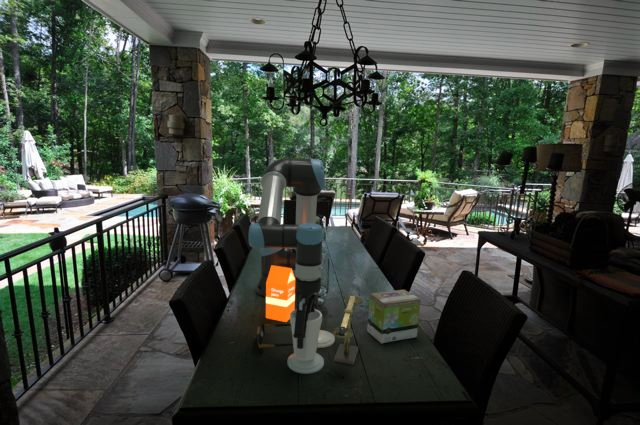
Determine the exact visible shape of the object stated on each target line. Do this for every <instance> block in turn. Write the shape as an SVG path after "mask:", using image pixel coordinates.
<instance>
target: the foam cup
mask: <svg viewBox="0 0 640 425" xmlns="http://www.w3.org/2000/svg"><path fill="white" fill-rule="evenodd" d="M306 310H307V309H306ZM296 311H297V310H296V309H294V310H293V311H292V312H291V314H290V319H289V321H290V323H289V324H291V326H290V328H291V336H292V344H293V345H292V346H293V353H294V355H295V357H296V338H294V336H293V334H294V330H295V320H296ZM322 323H323V314H322V311H320V310H319V309H318V310H316V309H315V311H314V312H311V313H309V315H308V321H307V327H306V334H305V336H306V358H305V359H303V358H298V357H296V358H297V359H298V360H302V361H308V360H312V359H313V358H315V354H316V353H317V350H318V348H317V344H318V338H319V332H320V330H321V327H322V326H321V325H322Z"/></svg>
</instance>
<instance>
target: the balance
mask: <svg viewBox="0 0 640 425" xmlns="http://www.w3.org/2000/svg"><path fill="white" fill-rule="evenodd" d="M343 302H344V303H345V304H347V306H346V308H344V311H343V319H342V322H341V325H340V326H338V327H335V328H333V330H332V334H333V335H334V337H335V338H338V339H340V340H341V339H343V340H344V343H339V345H338V348H337V350H336V353H335V355H334V358H333V362H334V363H341V364H344V365H345V364H346V365H354V364H355V360H356V358H357V355H358V351H359V346H356V345H350V343H351V339H350V338H352V337H353V336H354V334H355V333H354V330H353V329H351V320H352V317H353V314H354V305H361V304H362V303H363V298H361V297H359V296H355V295H348V296H345V297H344V298H343Z"/></svg>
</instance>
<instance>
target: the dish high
mask: <svg viewBox="0 0 640 425" xmlns="http://www.w3.org/2000/svg"><path fill="white" fill-rule="evenodd" d="M335 340H336V337H335V336H334V335H333V332H330V331H327V330H323V329H320V332H319V338H318V344H317V349H325V348H328V347H331V346H333V344H334V343H335Z"/></svg>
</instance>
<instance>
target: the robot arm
mask: <svg viewBox="0 0 640 425" xmlns="http://www.w3.org/2000/svg"><path fill="white" fill-rule="evenodd" d="M260 180H261V181H260V184H261V187H262V191H261V196H260V203H259V210H258V216H257V223H251V224H250V225H249V228H248V246H250V247H251V248H254V249H255V248H256V249H261V252H260V256H261V257H260V258H261V260H260V261H261V263H260V278H259V280H258V284H257V287H256V292H257V295H260V296H263V297H265V298H266V282H267V278H268V275H269V272H270V268H271V265H273V266H280V267H287V268H292V271H294V272H295V274H294V276H295V292H298V293H299V294H300V296H299V299H298V300H299V301H297V302H296V303H295V305H296V306H295V307H296V309H295V310H297V311H296V320H295V330H294V334H293V336H294V338H296V357H298V358H303V359H305V358H306V336H305V334H306V327H307V321H308V315H309V313H311V312H314V311H315V309H316V310H318V311H319V303H318V302H319V301H318V298H319V297H318V292H320V291H321V289H322V278H321V276H322V271H323V270H324V267H323V266H322V262H323V260H322V258H323V240H324V233H323V231H324V230H323V227H322V225H321V224H319V223H317V222H316V220H317V205H318V204H317V203H318V196H319V195H320V194H321V192H322V190H323V189H325V188H326V181H325V168H324V163H323V161H322V160H321V159H316V158H296V157H294V158H293V157H292V158H290V157H282V158H280V159H276V160H274V161H273V162H272V163H270V164H269V165H268V166H267V167H266V168H265V169H264V171H263V173H262V175H261V178H260ZM286 188H292V191H293V193H294V194H295V195H296V206H295V208H296V209H295V224H282V208H283V196H284V189H286ZM306 309H307V310H306Z"/></svg>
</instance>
